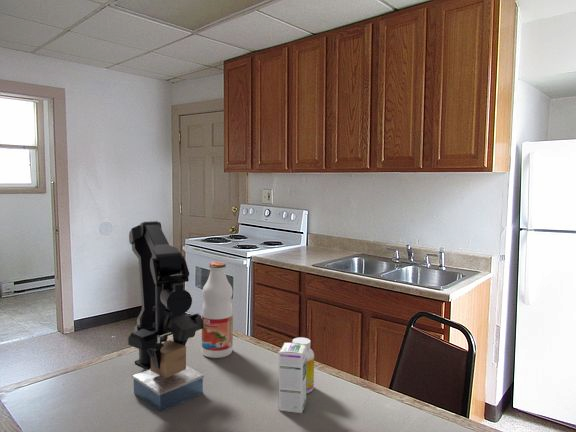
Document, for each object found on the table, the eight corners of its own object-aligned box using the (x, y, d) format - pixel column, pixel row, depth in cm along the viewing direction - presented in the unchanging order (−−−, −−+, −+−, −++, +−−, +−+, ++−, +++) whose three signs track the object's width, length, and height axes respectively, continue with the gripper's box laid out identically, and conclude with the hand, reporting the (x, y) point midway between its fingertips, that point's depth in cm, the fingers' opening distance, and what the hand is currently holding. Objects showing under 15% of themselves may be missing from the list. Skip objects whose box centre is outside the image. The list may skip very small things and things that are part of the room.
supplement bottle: (317, 386, 111) (318, 338, 110) (307, 397, 105) (309, 347, 104) (294, 380, 114) (295, 334, 113) (283, 391, 108) (284, 342, 107)
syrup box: (302, 414, 98) (304, 353, 97) (277, 410, 99) (278, 350, 98) (306, 401, 103) (307, 343, 102) (282, 398, 105) (283, 341, 103)
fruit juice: (239, 351, 132) (239, 262, 129) (216, 361, 124) (216, 267, 122) (218, 343, 138) (218, 258, 135) (195, 352, 130) (195, 263, 128)
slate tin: (132, 394, 106) (132, 375, 105) (175, 377, 115) (175, 360, 114) (159, 413, 97) (159, 393, 97) (203, 394, 107) (203, 374, 106)
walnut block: (150, 371, 105) (150, 347, 104) (170, 362, 110) (170, 340, 109) (166, 378, 101) (166, 353, 101) (186, 369, 106) (185, 346, 106)
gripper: (156, 319, 92) (157, 388, 93) (218, 300, 107) (218, 359, 108) (126, 309, 98) (127, 374, 100) (188, 292, 113) (188, 348, 115)
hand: (168, 364), depth 105 cm, fingers closed on walnut block, 6 cm apart
